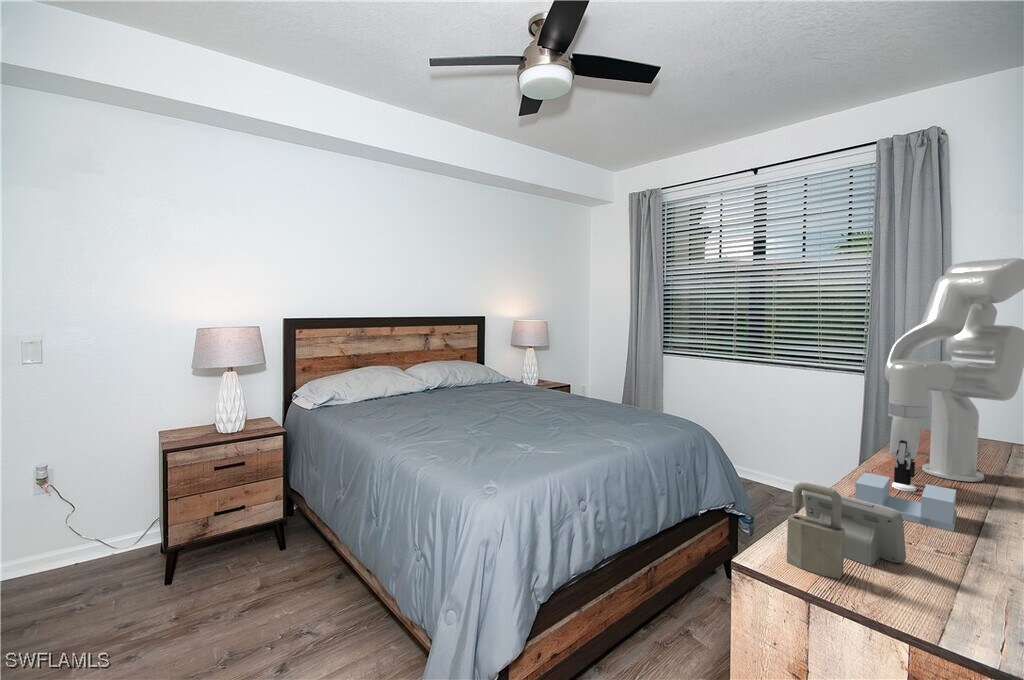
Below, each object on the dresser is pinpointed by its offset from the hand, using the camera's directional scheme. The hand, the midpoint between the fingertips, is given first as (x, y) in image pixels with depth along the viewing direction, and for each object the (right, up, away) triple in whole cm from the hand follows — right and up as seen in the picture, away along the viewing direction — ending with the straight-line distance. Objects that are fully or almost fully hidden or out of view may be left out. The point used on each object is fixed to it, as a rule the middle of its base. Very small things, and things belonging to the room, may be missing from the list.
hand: (904, 479), depth 122 cm
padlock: (-47, -5, -38) cm, 60 cm away
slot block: (-12, -3, -15) cm, 19 cm away
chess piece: (0, -2, 0) cm, 2 cm away
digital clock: (-36, -5, -31) cm, 48 cm away
